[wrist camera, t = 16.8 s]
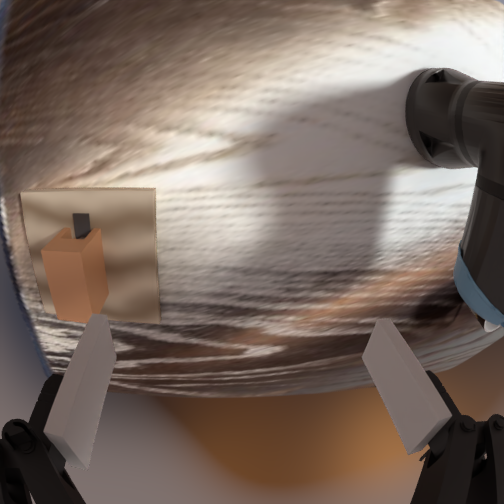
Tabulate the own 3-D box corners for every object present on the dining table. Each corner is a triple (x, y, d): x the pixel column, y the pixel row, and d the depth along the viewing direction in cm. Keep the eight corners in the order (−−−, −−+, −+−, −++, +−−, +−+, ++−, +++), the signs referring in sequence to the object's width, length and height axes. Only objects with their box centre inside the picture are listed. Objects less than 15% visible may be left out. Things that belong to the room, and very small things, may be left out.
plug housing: (64, 227, 36) (40, 250, 30) (100, 228, 37) (80, 252, 30) (75, 290, 40) (58, 319, 34) (109, 293, 41) (94, 323, 35)
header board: (25, 189, 34) (8, 199, 30) (155, 188, 37) (148, 198, 33) (49, 307, 43) (38, 323, 39) (161, 317, 45) (157, 337, 41)
